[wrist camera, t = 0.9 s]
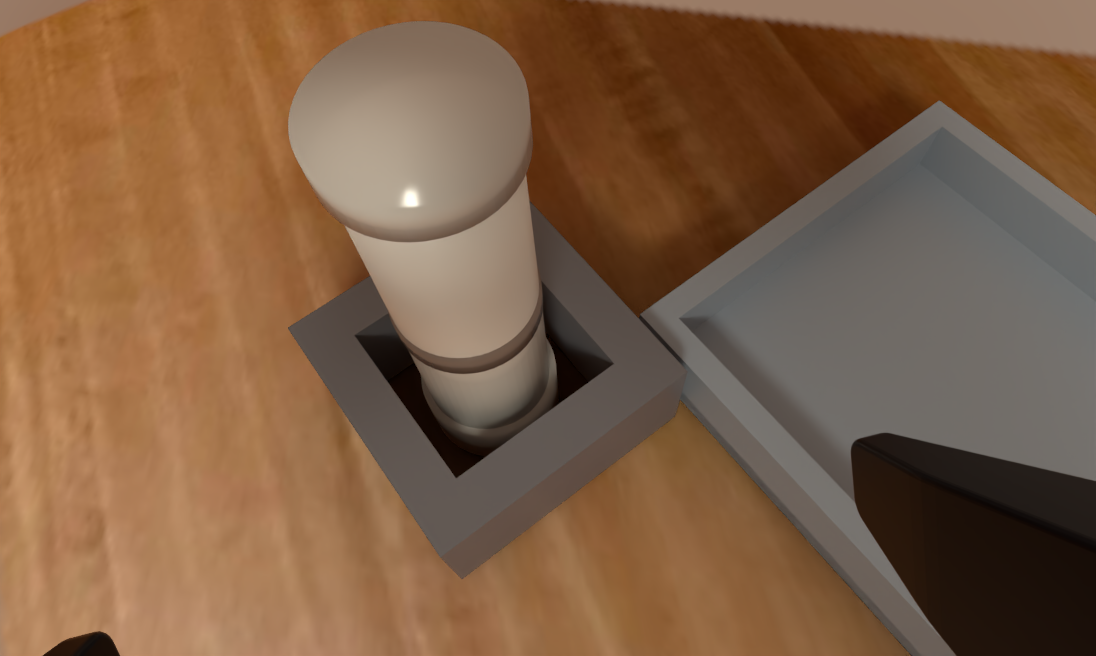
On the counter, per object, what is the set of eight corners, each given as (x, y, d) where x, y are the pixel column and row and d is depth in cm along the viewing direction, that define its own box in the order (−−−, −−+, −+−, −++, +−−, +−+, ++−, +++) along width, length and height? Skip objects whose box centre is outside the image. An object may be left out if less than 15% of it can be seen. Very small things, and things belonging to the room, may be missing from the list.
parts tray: (1390, 523, 21) (1485, 501, 19) (1094, 858, 18) (1165, 879, 16) (910, 149, 28) (939, 100, 25) (635, 349, 25) (639, 314, 22)
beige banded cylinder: (584, 406, 24) (578, 120, 12) (479, 482, 23) (365, 251, 11) (510, 317, 25) (442, -11, 14) (409, 386, 24) (246, 95, 13)
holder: (675, 416, 24) (687, 371, 20) (462, 579, 22) (440, 557, 19) (523, 246, 27) (514, 184, 24) (325, 375, 25) (287, 328, 22)
